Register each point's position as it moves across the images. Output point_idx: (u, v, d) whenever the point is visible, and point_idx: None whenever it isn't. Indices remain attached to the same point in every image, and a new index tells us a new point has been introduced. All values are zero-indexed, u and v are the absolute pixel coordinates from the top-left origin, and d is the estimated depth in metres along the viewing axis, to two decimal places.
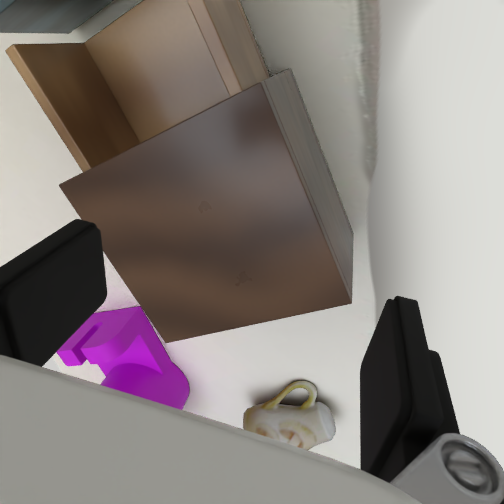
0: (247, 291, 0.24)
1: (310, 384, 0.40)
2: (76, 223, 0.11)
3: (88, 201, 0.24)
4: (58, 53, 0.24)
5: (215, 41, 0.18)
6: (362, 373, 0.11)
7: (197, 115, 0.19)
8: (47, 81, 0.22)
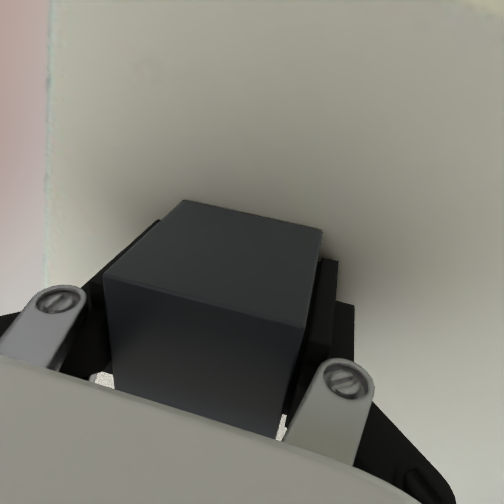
0: None
1: None
2: None
3: None
4: None
5: None
6: None
7: None
8: None
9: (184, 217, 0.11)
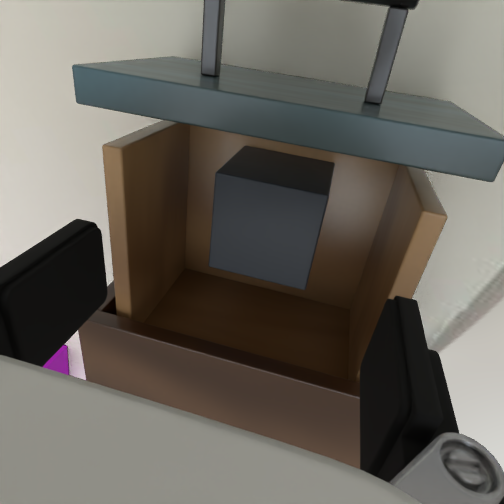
0: None
1: None
2: (76, 223, 0.11)
3: (106, 352, 0.17)
4: (161, 145, 0.16)
5: None
6: (362, 373, 0.11)
7: (315, 386, 0.15)
8: (135, 197, 0.15)
9: (249, 153, 0.18)
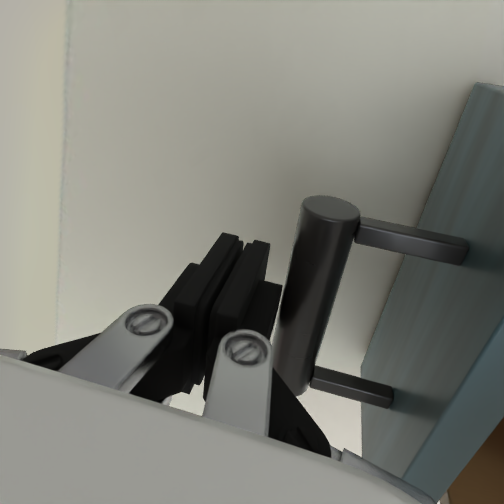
0: None
1: None
2: (225, 237, 0.12)
3: None
4: None
5: None
6: None
7: None
8: None
9: None
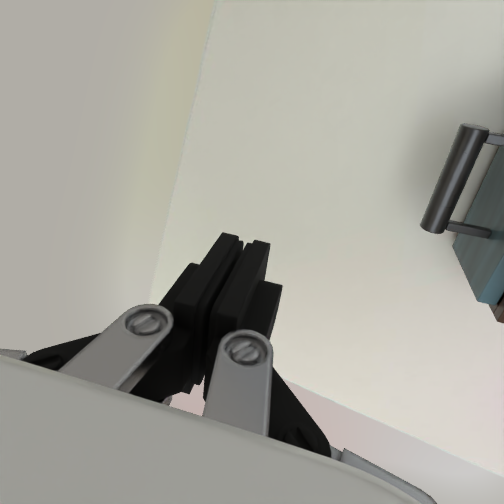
0: None
1: None
2: (225, 237, 0.12)
3: None
4: None
5: None
6: None
7: None
8: None
9: None
